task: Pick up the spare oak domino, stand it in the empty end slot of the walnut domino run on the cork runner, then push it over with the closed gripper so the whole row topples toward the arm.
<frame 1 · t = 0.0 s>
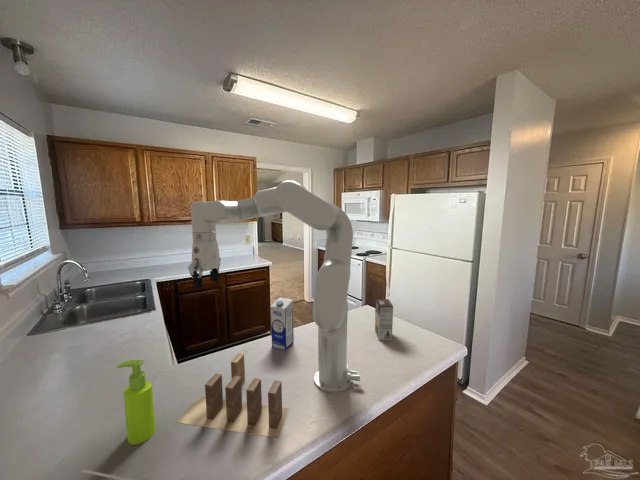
hand: (207, 285, 93), 31 cm above the countertop, fingers open, 9 cm apart
domino 3: (234, 415, 73), resting on runner
domino 2: (215, 412, 74), resting on runner
domino 1: (238, 386, 86), on the countertop
domino 4: (255, 417, 72), resting on runner
runner: (234, 416, 73), on the countertop
coffee box: (383, 336, 121), on the countertop
soap dispenser: (139, 436, 67), on the countertop
milk carton: (282, 345, 112), on the countertop
domino 5: (275, 420, 71), resting on runner
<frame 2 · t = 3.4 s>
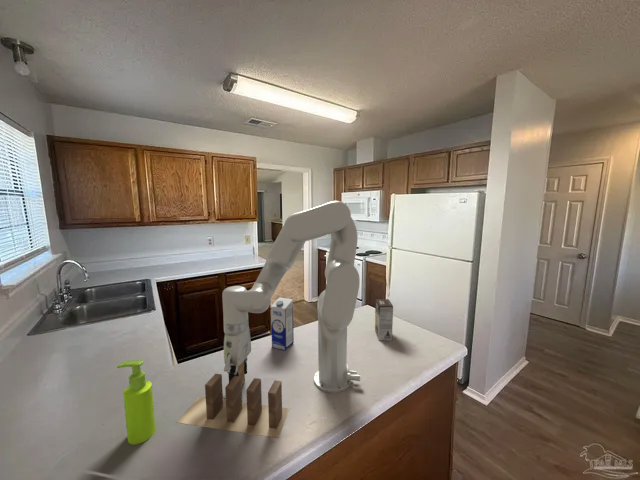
hand: (238, 378, 86), 3 cm above the countertop, fingers closed on domino 1, 4 cm apart
domino 1: (238, 386, 86), on the countertop, touching gripper
everything else where it was.
when the fingers open (4 cm above the countertop, at t = 9.0 s): domino 1 stays where it is, resting on runner.
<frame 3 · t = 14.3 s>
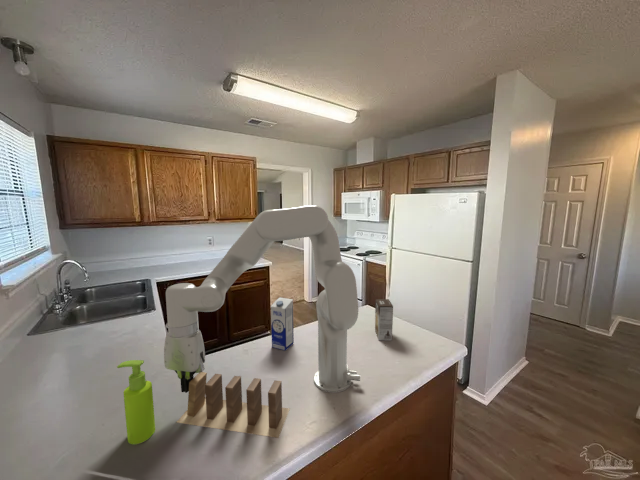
hand: (187, 389, 75), 6 cm above the countertop, fingers closed
domino 1: (196, 409, 75), point 1 cm above the countertop, tilted 7°, touching runner
everything else where it was.
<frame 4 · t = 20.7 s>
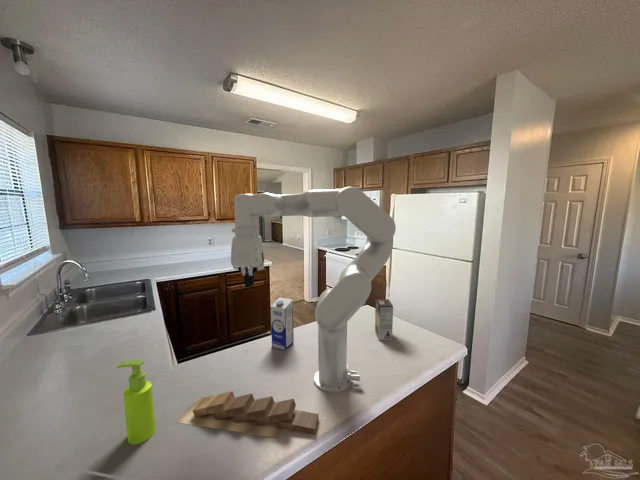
hand: (249, 286, 88), 32 cm above the countertop, fingers closed
domino 3: (238, 412, 73), point 1 cm above the countertop, tilted 71°, touching domino 2, domino 4, runner
domino 2: (218, 409, 74), point 1 cm above the countertop, tilted 70°, touching domino 1, domino 3, runner
domino 1: (199, 407, 75), point 1 cm above the countertop, tilted 71°, touching domino 2, runner
domino 4: (259, 415, 72), point 1 cm above the countertop, tilted 70°, touching domino 3, domino 5, runner
domino 5: (280, 417, 71), point 1 cm above the countertop, tilted 93°, touching domino 4, runner
everything else where it was.
at the end: domino 5 tilted 93°; domino 3 tilted 71°; domino 1 inside the target area (1.5 cm from its centre), point 1.3 cm above the countertop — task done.
